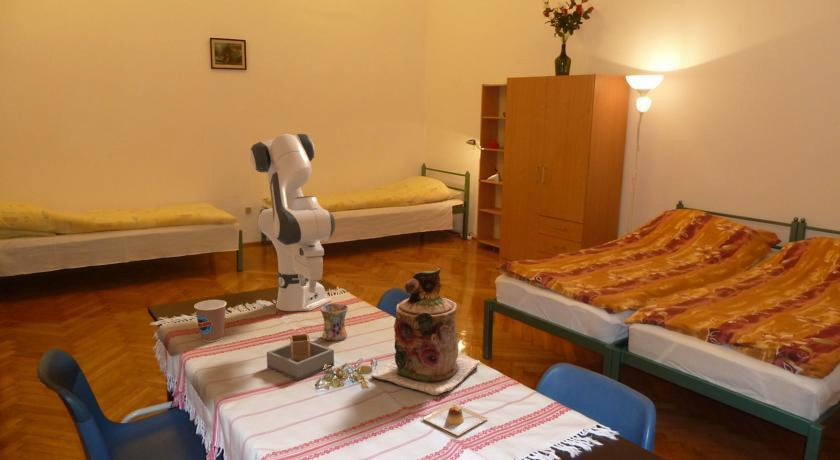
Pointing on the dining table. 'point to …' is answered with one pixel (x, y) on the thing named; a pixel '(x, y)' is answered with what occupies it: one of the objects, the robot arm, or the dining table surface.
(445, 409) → the dessert
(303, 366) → the grey crate
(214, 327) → the coffee cup
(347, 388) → the dining table surface
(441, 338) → the cookie jar
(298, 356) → the square wooden cup
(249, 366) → the dining table surface
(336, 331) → the mug
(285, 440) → the dining table surface
